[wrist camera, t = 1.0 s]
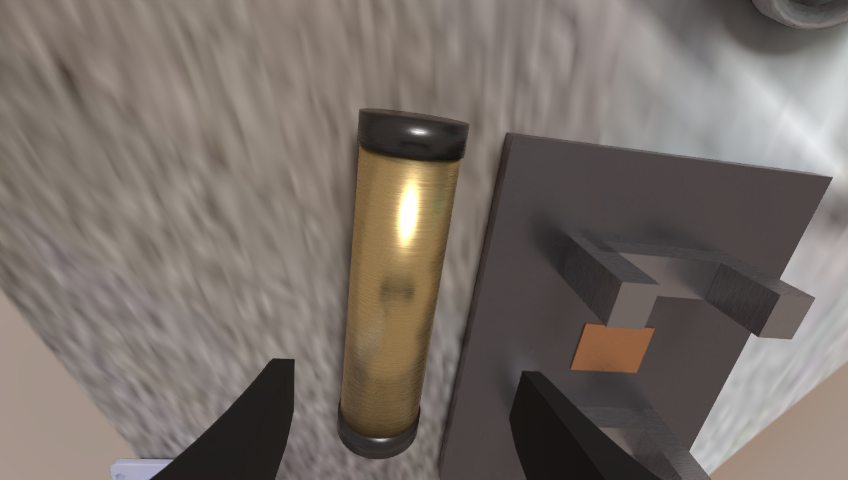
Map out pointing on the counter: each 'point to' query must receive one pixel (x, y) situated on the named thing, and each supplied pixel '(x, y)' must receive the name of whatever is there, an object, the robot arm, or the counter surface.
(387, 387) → the brass tube
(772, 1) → the ceramic mug
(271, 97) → the counter surface
